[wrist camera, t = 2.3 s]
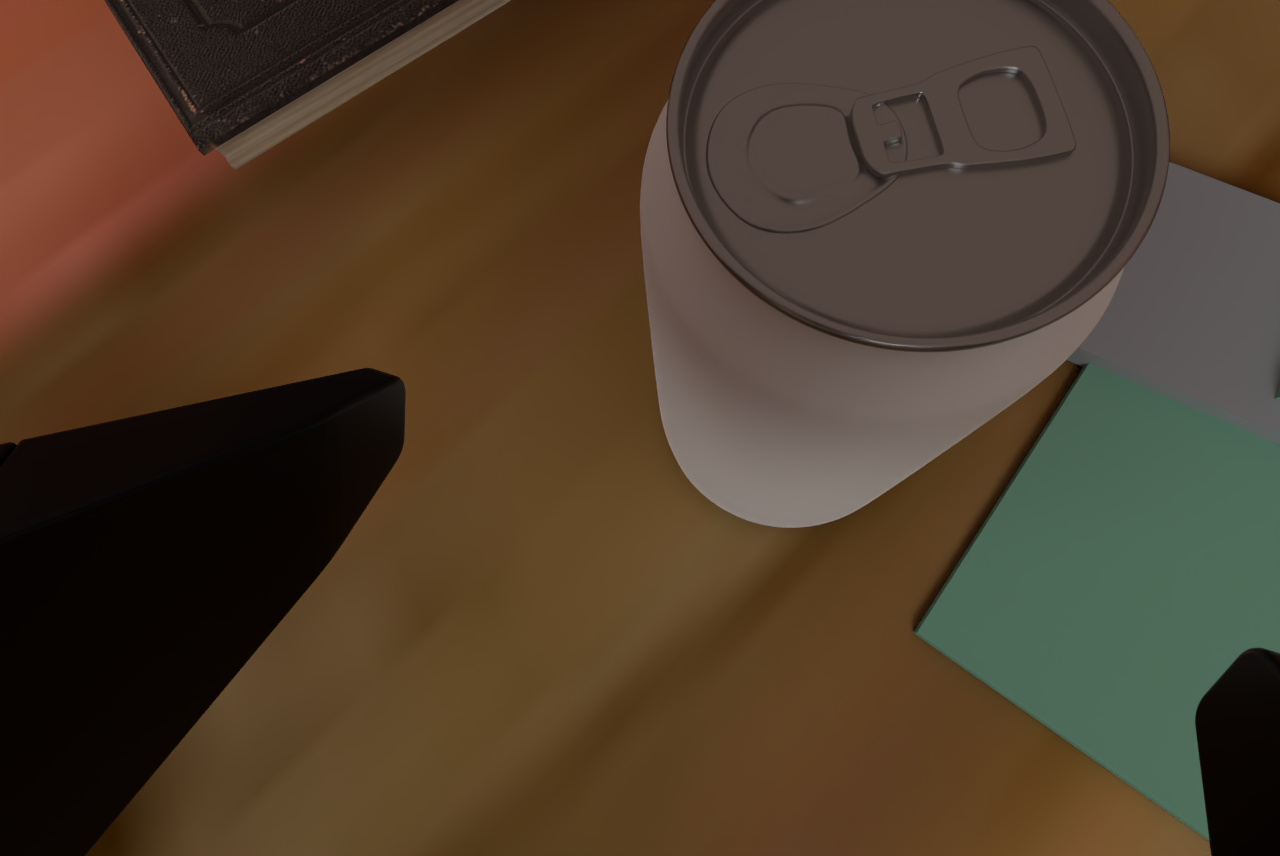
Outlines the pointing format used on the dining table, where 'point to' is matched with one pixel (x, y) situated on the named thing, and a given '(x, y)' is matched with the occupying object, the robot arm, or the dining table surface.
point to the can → (883, 231)
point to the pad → (1122, 580)
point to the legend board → (1201, 305)
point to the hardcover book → (278, 58)
